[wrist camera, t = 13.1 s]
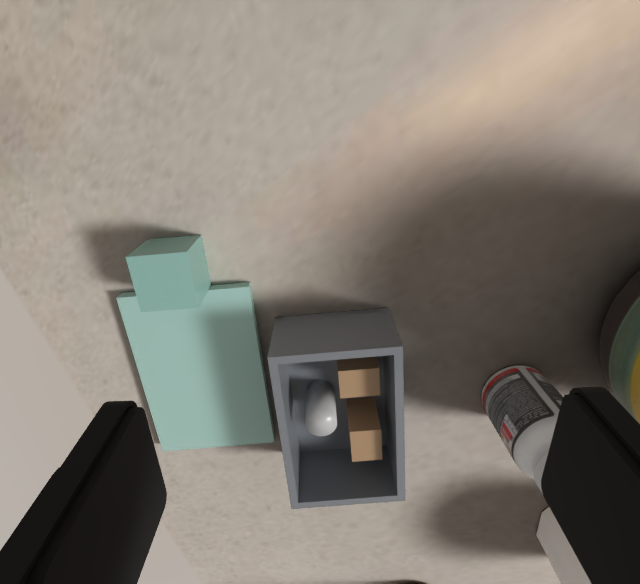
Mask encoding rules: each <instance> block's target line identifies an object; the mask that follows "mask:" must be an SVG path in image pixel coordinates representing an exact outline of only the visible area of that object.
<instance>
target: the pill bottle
mask: <svg viewBox="0 0 640 584" xmlns="http://www.w3.org/2000/svg"><path fill="white" fill-rule="evenodd" d="M562 399H563V397H562V395H561V394H560V393H559V392H558V391H557V390H556V389H555V387H554V386H553V385H552V384H551V383H550V382H549V381H548V379H547V378H546V377H545V376H544V375H543V374H542V373H541V372H539V371H538V370H536V369H534V368H532V367H528V366H511V367H507V368H504V369H502V370H500V371H498V372H497V373H495V374H494V375H493V376H492V377H490V379H489V380H488V381H487V382H486V384H485V386H484V388H483V390H482V395H481V400H482V405H483V407H484V410H485V412H486V413H487V415H488V417H489V418H490V420H491V422H492V424H493V425H494V427H495V429H496V430H497V432H498V434H499V435H500V437H501V439H502V441H503V442H504V444H505V446H506V448H507V449H508V451H509V453H510V455H511V456H512V458H513V460H514V461H515V463H516V464H517V466H518V467H519V469H520V470H521V471H522V472H523V473H524V474H525V475H527V476H528V477H530V478H532V479H534V480H535V483H536V485H537V486H538V488H539V489H540V491H541V492H542V489H541V478H542V475H543V471H544V467H545V463H546V459H547V456H548V452H549V448H550V444H551V440H552V437H553V433H554V429H555V425H556V422H557V418H558V414H559V410H560V406H561V403H562ZM542 494H543V493H542Z"/></svg>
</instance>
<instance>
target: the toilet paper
mask: <svg viewBox="0 0 640 584" xmlns="http://www.w3.org/2000/svg"><path fill="white" fill-rule="evenodd" d="M536 536H537V538H538V540H539V541H540V543H541V545H542V547H543V549H544V551H545V553H546V555H547V557H548V559H549V561H550V563H551V565H552V566H553V568H554V570H555V572H556V574H557V576H558V578H559V580H560V582H561V584H591V582H590V580H589V578H588V576H587V575H586V573H585V571H584V569H583V567H582V565H581V564H580V562H579V560H578V558H577V556H576V555H575V553H574V551H573V549H572V547H571V545H570V544H569V542H568V540H567V538H566V536H565V534H564V533H563V531H562V529H561V527H560V525H559V524H558V522H557V520H556V518H555V516H554V514H553V513H552V511H551V509H550V507H548V508H547V509H546V510H544V511H543V512H542V514H541V518H540V522H539V526H538V530H537V534H536Z"/></svg>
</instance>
